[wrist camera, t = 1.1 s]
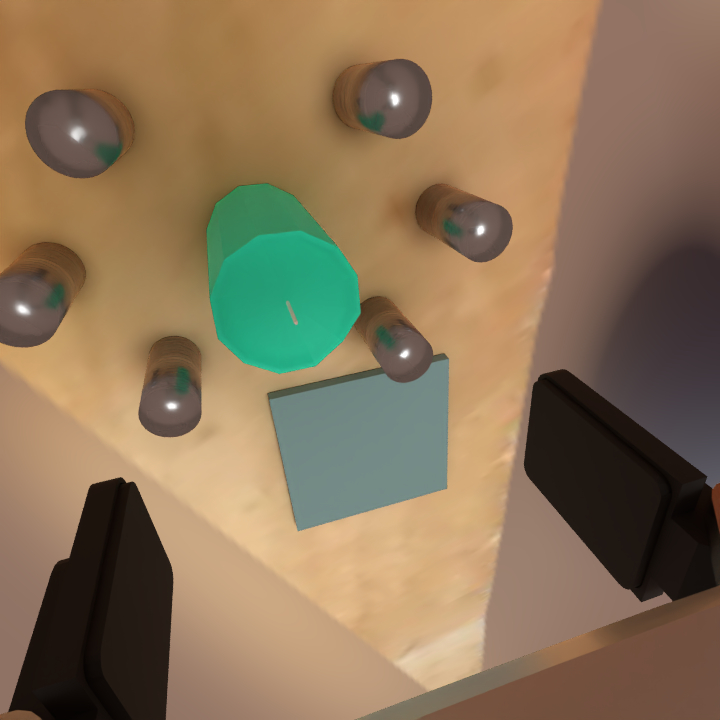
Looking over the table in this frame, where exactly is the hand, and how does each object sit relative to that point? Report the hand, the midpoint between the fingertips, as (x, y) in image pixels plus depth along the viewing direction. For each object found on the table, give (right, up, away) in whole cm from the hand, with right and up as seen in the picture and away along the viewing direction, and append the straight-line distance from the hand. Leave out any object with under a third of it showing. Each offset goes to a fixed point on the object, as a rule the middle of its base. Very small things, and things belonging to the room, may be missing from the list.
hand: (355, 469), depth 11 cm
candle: (-6, +10, +17) cm, 20 cm away
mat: (+1, -4, +26) cm, 27 cm away
